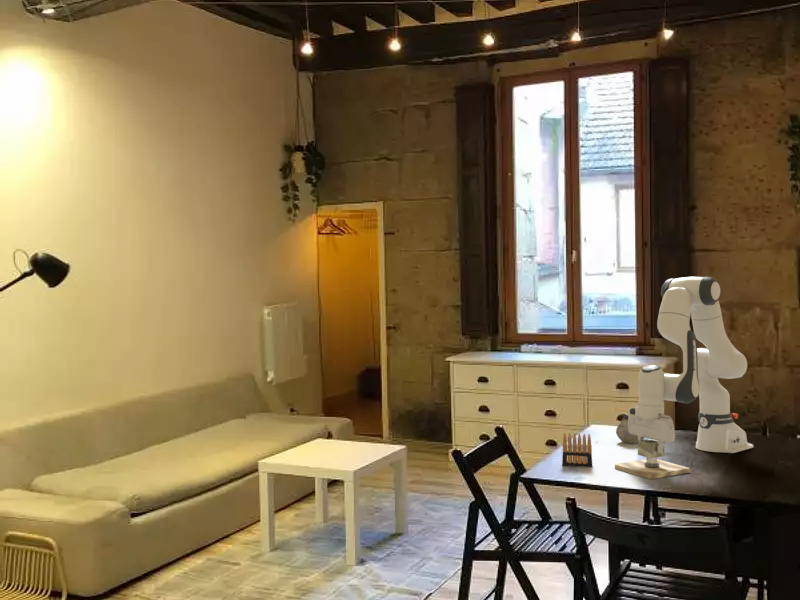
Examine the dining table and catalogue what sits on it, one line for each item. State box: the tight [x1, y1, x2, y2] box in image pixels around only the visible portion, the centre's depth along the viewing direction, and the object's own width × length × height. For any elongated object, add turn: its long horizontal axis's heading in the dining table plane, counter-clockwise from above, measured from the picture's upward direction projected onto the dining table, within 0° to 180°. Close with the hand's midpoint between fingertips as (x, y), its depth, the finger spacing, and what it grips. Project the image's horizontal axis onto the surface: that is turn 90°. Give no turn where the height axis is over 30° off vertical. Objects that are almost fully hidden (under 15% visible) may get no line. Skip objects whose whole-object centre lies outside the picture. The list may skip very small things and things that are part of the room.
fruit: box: [615, 414, 639, 445], centre depth 354 cm, size 10×9×12 cm
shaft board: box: [614, 457, 691, 480], centre depth 308 cm, size 18×18×9 cm
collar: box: [637, 438, 666, 458], centre depth 308 cm, size 6×6×5 cm
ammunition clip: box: [561, 432, 593, 468], centre depth 317 cm, size 11×2×12 cm, turn 72°
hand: (651, 450), depth 308 cm, fingers closed on collar, 6 cm apart
